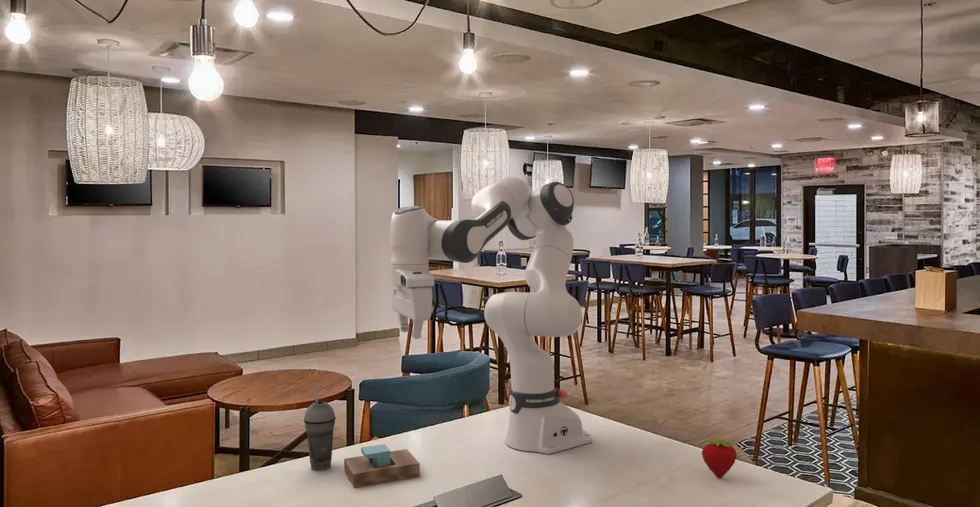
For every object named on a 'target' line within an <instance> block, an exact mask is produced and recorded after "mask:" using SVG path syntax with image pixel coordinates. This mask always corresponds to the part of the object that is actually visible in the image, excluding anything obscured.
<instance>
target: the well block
mask: <svg viewBox="0 0 980 507" xmlns="http://www.w3.org/2000/svg"><path fill="white" fill-rule="evenodd" d="M390 461H391V465H390V466H383V467H377V468H374V467H373V465H372V458H370V459H366V458H365V456H364V455H361V456H353V457H346V458H343V465H344V466H343V470H344V471H343V472H344V473H345V475H346V476H347V479H348V480H349V482H350V484H351V486H352V487H353V488H359V487H365V486H371V485H377V484H381V483H388V482H394V481H401V480H405V479H411V478H417V477H420V476H421V475H420V474H421V473H420V471H421V470H420V465H421V464H420V462H419V461H418V460H417V459H416V457H415V456H413V454H412V453H411V452H410V451H409V449H407V448H403V449H398V450H397V449H396V450H390Z"/></svg>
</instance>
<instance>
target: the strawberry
mask: <svg viewBox="0 0 980 507" xmlns="http://www.w3.org/2000/svg"><path fill="white" fill-rule="evenodd" d="M718 434H719V436H720V437H721V439H720V438H719V437H718V438H716V441H714V440H712V441H711V440H710V441H709V440H708V441H707V443H708V444H706V445H705V446H704V447H703V448H702V450H701V455H702V459H703V462H704V463H705V465H706V466H707V468H708V469H709V471H711V472H712V473H713V475H714V476H715V477H716V478H717V479H722V478H723V477H724V476H725V475H726V474H727V473H729V471H730V469H731V468H732V467H734V466H733V465H735V463H736V461H737V460H736V459H737V456H738V455H737V451H736V449H735V448H734V446H731V445H733V442H729V441H726V440H723V437H722V435H721V433H720V432H718Z"/></svg>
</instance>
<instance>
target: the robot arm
mask: <svg viewBox="0 0 980 507" xmlns="http://www.w3.org/2000/svg"><path fill="white" fill-rule="evenodd" d="M574 203H575V200H574V196H573V193H572V191H571V190H570V188H569V187H568V186H567V185H565V184H564V183H563V182H560V181H552V182H548V183H546V184H544V185H543V186H542V187H540V188H539V189H537V190H535V191H534V192H531V191H530V188H529V186H528V185H527V183H526V182H525V181H524V180H522V179H521V178H519V177H518V176H517V177H516V176H508V177H504V178H501V179H499V180H495V181H493V182H491V183H489V184H488V185H486V186H484V187H482V188H480V189H479V190H478V191H477V192H476V193H475V194H474V195H473V196H472V199H471V203H470V210H471V214H472V217H473V219H459V220H456V219H453V220H452V219H451V220H446V219H445V220H444V219H442V220H441V219H440V220H439V219H437V218H436V217H433V216H432V215H430V213H428V212H427V211H426V208H425V207H424V206H421V205H410V206H404V207H400V208H398V209H396V210H394V211H393V213H392V216H391V220H390V226H389V228H390V229H389V245H390V249H391V258H390V265H389V266H390V284H391V285H392V287H391V307H392V308H391V309H392V310H393V311H394V312H396V313H397V316H398V321H399V327H400V332H402V333H409V332H410V324H409V319H411V320H412V324H413V325H412V326H413V327H412V330H411V337H412V338H413V339H414V340H418V339H419V340H420V339H421V338H422V330H423V326H424V321H430V319H431V317H432V312H433V311H432V310H433V290H432V287H434V285H435V277H434V275H433V274H432V273H431V271H430V267H429V264H430V263H429V260H431V261H432V260H433V261H434V260H435V261H447V262H449V261H450V262H457V263H463V264H469V263H472V262H474V261H475V260H476V259H477V258H478V257H479V255H480V254H481V252H482V251H483V249H484V247H485V246H486V245H487V244H488V243H489V242H490V241H491V240H492V239H493V238H494V237H496V236H497V235H498V234H499V233H500V232H501V231H503V230H504V229H505V228H506V227H507V228H508V230H509V231H510V233H511V234H512V235H513V236H514V237H516V238H517V239H518V240H521V241H529V240H532V239H535V244H534V246H533V248H532V251H531V254H530V257H529V260H528V262H527V265H526V266H525V267H526V268H525V269H524V279H525V282H526V284H527V285H528V287H529V288H530V289H531V290H532V291H533V292H525V291H524V292H521V291H506V292H500V293H495V294H492V295H491V296H490V297H489V298H488V299H487V301H486V303H485V307H484V312H483V314H484V315H483V316H484V320H485V322H486V324H487V326H488V328H490V329H491V330H492V331H493V332H494V333H495V334H496V335H497V336H498V337H499V338H500V340H501V342H502V344H503V345H504V348H505V349H506V352H507V354H508V359H509V366H510V384H511V385H510V388H509V396H508V397H509V399H508V400H509V401H508V402H509V411H510V413H509V422H508V429H507V433H506V436H505V440H504V442H505V444H506V445H507V446H508V447H510V448H512V449H515V450H518V451H525V452H534V453H535V452H536V453H542V454H549V455H550V454H553V453H557V452H561V451H562V452H563V451H565V450H569V449H572V448H575V447H579V446H583V445H586V444H590V443H592V436H591V435H590V433H588V432H587V431H586V430H584V429H583V423H582V419H581V418H580V416H579V415H578V413H576V412H575V411H574V410H572V409H571V408H570V407H568V405H566V404H564V403H563V402H562V401H561V399H564V400H565V399H566V398H567V397H568V396H569V395H568V394H569V393H568V392H567V391H566V390H564V389H559V388H557V387H555V362H554V359H553V358H552V356H551V354H550V353H549V352H548V351H546V350H544V349H543V348H541V347H540V346H539V345H538V344H537V343H536V341H535V339H534V337H546V338H549V337H550V338H559V337H560V338H561V337H567V336H572V335H574V334H575V333H576V332H577V331H578V329H579V328H580V326H581V324H582V320H583V312H582V308H581V306H580V304H579V301H578V300H577V299H576V298H575V297H573V296H572V295H571V294H570V293H569V292H568V290H567V287H566V282H567V277H568V272H569V269H570V265H571V262H572V257H573V253H574V252H573V251H574V237H573V234H572V233H571V231H570V230H568V228H567V225H570V223H571V222H572V220H573V212H574V206H575V204H574ZM560 398H561V399H560Z"/></svg>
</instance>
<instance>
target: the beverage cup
mask: <svg viewBox="0 0 980 507" xmlns="http://www.w3.org/2000/svg"><path fill="white" fill-rule="evenodd" d="M313 392H314V399H315V400H314V401H315V402H312V403H311V404H310V405H309V406H308V407H307V409H306V411H305V412H304V413H305V414H304V419H303V422H304V426H305V427H304V428H305V430H306V436H307V446H308V455H309V463H310V468H311V470H312V471H315V472H319V471H320V472H321V471H322V472H323V471H327V470H329V469H330V468H331V466H332V464H331V463H332V455H333V443H334V442H333V441H334V440H333V439H334V427H335V423H336V419H337V418H336V415H335V411H334V408H333V407H332V405H330V404H329V403H328V402H325V401H323V400H322V401H321V400H318V392H317V384H316V382H313Z"/></svg>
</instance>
